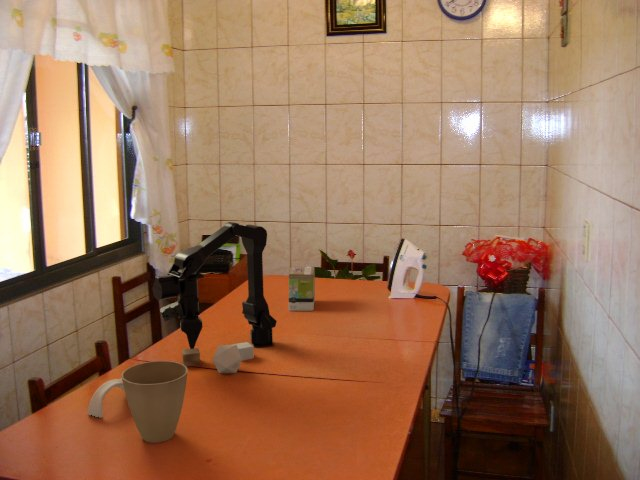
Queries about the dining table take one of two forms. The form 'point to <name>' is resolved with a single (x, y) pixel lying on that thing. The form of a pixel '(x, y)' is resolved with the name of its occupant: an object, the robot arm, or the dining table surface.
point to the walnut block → (191, 357)
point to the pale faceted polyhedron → (227, 359)
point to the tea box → (301, 288)
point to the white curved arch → (102, 397)
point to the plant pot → (155, 397)
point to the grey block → (245, 350)
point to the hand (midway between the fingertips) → (190, 344)
